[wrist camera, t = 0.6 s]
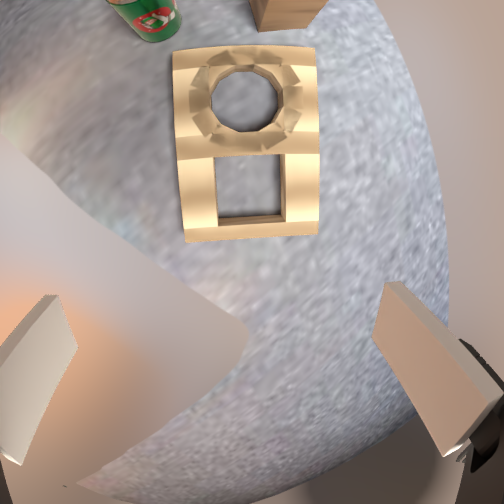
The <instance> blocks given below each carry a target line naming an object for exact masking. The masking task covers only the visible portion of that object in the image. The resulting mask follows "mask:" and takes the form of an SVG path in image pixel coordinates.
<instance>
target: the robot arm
mask: <svg viewBox="0 0 504 504" xmlns="http://www.w3.org/2000/svg"><path fill="white" fill-rule="evenodd" d="M372 339H373V341H374V342H375V344H376V345H377V347H378V348H379V350H380V351H381V353H382V355H383V356H384V358H385V359H386V361H387V362H388V364H389V366H390V367H391V369H392V370H393V372H394V374H395V375H396V377H397V378H398V380H399V382H400V383H401V385H402V387H403V388H404V390H405V392H406V393H407V395H408V397H409V398H410V400H411V402H412V403H413V405H414V407H415V408H416V410H417V412H418V414H419V415H420V417H421V419H422V421H423V422H424V424H425V426H426V428H427V429H428V431H429V433H430V435H431V436H432V438H433V440H434V442H435V444H436V446H437V447H438V449H439V451H440V453H441V455H442V457H444V456H446V455H448V454H450V453H451V452H453V451H455V450H457V449H459V448H460V447H461V446H462V445H463V444H464V443H465V441H466V440H467V439H468V438H469V439H470V440H471V444H470V445H469V446H468V447H467V448H466V449H465V450H464V451H463V452H462V453H461V454H460V455H459V456H458V458H457V460H456V462H459V461H460V460H461V459H462V458H463V457H464V456H465V455H466V454H467V455H466V458H465V459H464V460H463V461H462V462H463V463H465V466H464V471H463V475H462V479H461V484H460V488H459V491H458V495H457V499H456V502H455V504H504V382H503V381H502V380H501V378H500V377H499V376H498V375H497V374H496V373H495V371H494V370H493V369H492V368H491V367H490V366H489V364H486V361H485V360H484V359H483V358H482V357H480V354H479V353H478V352H477V351H476V350H475V349H474V348H473V347H472V346H471V345H470V344H468V343H467V342H465V341H463V340H462V339H457V338H456V337H455V336H454V334H453V333H452V332H450V330H449V329H448V328H447V327H446V326H445V325H444V324H443V323H442V322H441V321H440V320H439V319H438V318H437V317H436V316H435V315H434V314H433V313H432V312H431V311H430V310H429V309H428V308H427V307H426V306H425V305H424V304H423V303H422V302H421V301H420V300H419V299H418V298H417V297H416V296H415V295H414V294H413V293H412V292H411V291H410V290H409V289H408V288H407V287H406V286H405V285H404V284H403V283H401V282H400V281H396V282H387V283H385V284H384V289H383V293H382V298H381V302H380V306H379V310H378V315H377V319H376V322H375V326H374V330H373V334H372ZM77 349H78V346H77V343H76V341H75V339H74V336H73V334H72V331H71V329H70V326H69V323H68V321H67V318H66V315H65V313H64V310H63V307H62V304H61V301H60V298H59V295H45V296H44V297H43V298H42V299H41V300H40V301H39V302H38V303H37V304H36V305H35V306H34V307H33V309H32V310H31V311H30V312H29V313H28V314H27V315H26V316H25V318H24V319H23V320H22V321H21V322H20V323H19V325H18V326H17V327H16V328H15V329H14V330H13V332H12V333H11V334H10V335H9V336H8V338H7V339H6V340H5V341H4V343H3V344H2V345H1V346H0V452H1V453H2V454H3V455H4V456H5V457H6V458H7V459H9V460H11V461H13V462H15V463H17V464H19V465H21V466H22V464H23V461H24V458H25V456H26V453H27V451H28V448H29V446H30V443H31V441H32V438H33V436H34V434H35V431H36V429H37V427H38V425H39V423H40V420H41V418H42V416H43V414H44V412H45V410H46V408H47V405H48V404H49V401H50V399H51V397H52V395H53V393H54V391H55V389H56V388H57V385H58V384H59V382H60V380H61V378H62V376H63V374H64V372H65V370H66V369H67V367H68V365H69V363H70V361H71V360H72V358H73V356H74V354H75V352H76V351H77ZM0 504H13V503H12V500H11V497H10V494H9V491H8V487H7V484H6V480H5V477H4V473H3V469H2V465H1V461H0Z"/></svg>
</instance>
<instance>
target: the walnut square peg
mask: <svg viewBox="0 0 504 504" xmlns="http://www.w3.org/2000/svg"><path fill="white" fill-rule="evenodd" d="M328 1H329V0H249V2H250V6H251V9H252V13H253V16H254V19H255V23H256V26H257V30H258V33H259V32H267V31H276V30H287V29H302V28H307V26H308V25H309V24H310V23H311V21H312V20H313V19H314V18H315V16H316V15H317V14H318V13H319V11H320V10H321V9H322V8H323V7H324V5H325V4H326V3H327V2H328Z"/></svg>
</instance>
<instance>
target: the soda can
mask: <svg viewBox="0 0 504 504" xmlns="http://www.w3.org/2000/svg"><path fill="white" fill-rule="evenodd" d="M106 1H107V2H108V3H109V4H110V5H111V6H112V7H113V8H114V9H115V10H116V12H117V13H118V14H119V15H120V16H121V17H122V18H123V19H124V20H125V21H126V22H127V23H128V24H129V25H130V26H131V27H132V28H133V30H134V31H135V32H136V33H137V34H138V35H139V36H140V37H141V38H142V39H144V40H145V41H149V42H159V41H163V40H165V39H168V38H169V37H171V36H172V35H174V34H175V33H176V32H177V30H178V29H179V27H180V25H181V21H182V18H181V14H180V12H179V9H178V7H177V4H176V1H175V0H106Z"/></svg>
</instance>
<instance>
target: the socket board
mask: <svg viewBox="0 0 504 504" xmlns="http://www.w3.org/2000/svg"><path fill="white" fill-rule="evenodd" d="M249 71H253V72H255V73H257V74H259V75H261V76H263V77H265V78H267V79H268V80H269V81H270V83H271V84H272V85H273V87H274V88H275V90H276V91H277V93H278V111H277V112H276V114H275V116H274V118H273V119H272V121H271V123H270V124H269V125H267V126H265V127H264V128H262V129H260V130H259V131H257V132H237V131H235V130H233V129H230V128H228V127H226V126H224V125H222V124H221V123H220V122H219V121H218V119H217V118H216V116H215V115H214V113H213V112H212V101H211V95H212V93H213V91H214V90H215V88H216V86H217V84H218V83H219V81H220V80H222V79H223V78H225V77H227V76H229V75H230V74H232V73H234V72H249ZM173 100H174V122H175V139H176V153H177V166H178V178H179V188H180V198H181V208H182V217H183V225H184V234H185V242H186V243H189V242H202V241H216V240H231V239H246V238H261V237H276V236H293V235H309V234H318V221H319V115H318V92H317V74H316V60H315V48H308V47H295V46H274V45H240V46H219V47H206V48H196V49H187V50H180V51H173ZM266 154H280V183H281V215H265V216H248V217H233V218H219V216H218V203H217V189H216V174H215V159H214V157H225V156H242V155H266Z"/></svg>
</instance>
